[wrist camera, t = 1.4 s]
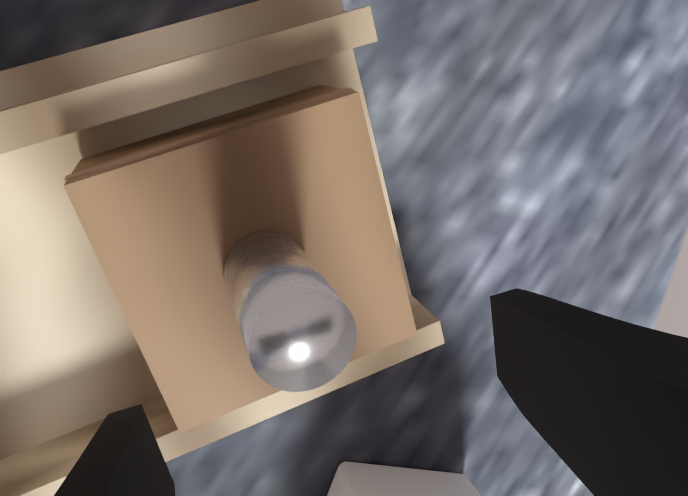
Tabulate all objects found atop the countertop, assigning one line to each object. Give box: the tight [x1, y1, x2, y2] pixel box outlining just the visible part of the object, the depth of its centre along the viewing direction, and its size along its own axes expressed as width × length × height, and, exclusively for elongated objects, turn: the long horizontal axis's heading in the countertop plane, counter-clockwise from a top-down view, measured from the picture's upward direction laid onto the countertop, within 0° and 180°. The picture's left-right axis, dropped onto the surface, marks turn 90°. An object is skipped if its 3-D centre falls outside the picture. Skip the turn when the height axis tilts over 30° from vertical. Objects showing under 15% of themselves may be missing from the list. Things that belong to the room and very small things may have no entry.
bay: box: [0, 0, 444, 496], centre depth 19 cm, size 20×14×4 cm
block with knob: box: [63, 85, 417, 433], centre depth 16 cm, size 8×8×9 cm
